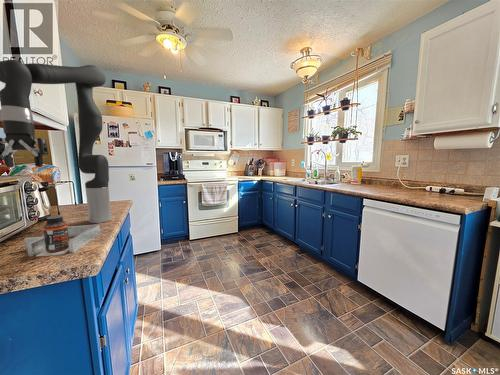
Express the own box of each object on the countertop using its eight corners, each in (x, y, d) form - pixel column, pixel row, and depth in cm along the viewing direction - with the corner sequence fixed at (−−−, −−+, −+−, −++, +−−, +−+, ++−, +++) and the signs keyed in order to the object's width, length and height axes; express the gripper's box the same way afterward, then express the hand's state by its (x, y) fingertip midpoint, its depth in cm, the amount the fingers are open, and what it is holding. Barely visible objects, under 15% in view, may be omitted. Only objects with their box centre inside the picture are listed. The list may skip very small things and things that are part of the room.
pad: (52, 247, 73) (52, 246, 72) (77, 245, 74) (77, 244, 74) (35, 256, 65) (35, 255, 65) (63, 254, 67) (63, 253, 67)
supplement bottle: (55, 254, 66) (50, 219, 65) (41, 252, 68) (36, 218, 66) (74, 246, 72) (70, 215, 71) (61, 245, 73) (57, 214, 72)
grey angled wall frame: (51, 237, 82) (50, 227, 81) (100, 233, 86) (99, 224, 85) (9, 257, 64) (8, 245, 64) (73, 252, 68) (72, 240, 68)
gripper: (49, 123, 79) (54, 166, 81) (3, 122, 75) (10, 166, 78) (34, 120, 71) (40, 167, 73) (-18, 118, 68) (-10, 167, 70)
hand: (24, 166), depth 75 cm, fingers open, 8 cm apart
